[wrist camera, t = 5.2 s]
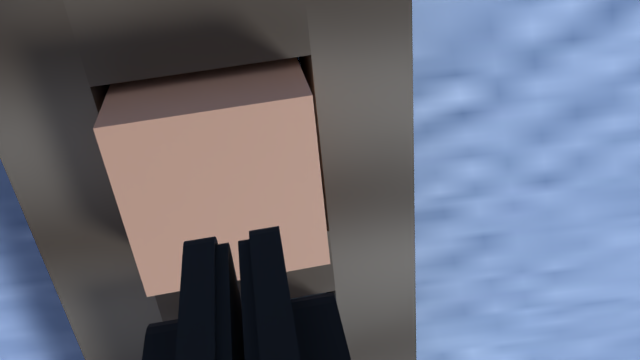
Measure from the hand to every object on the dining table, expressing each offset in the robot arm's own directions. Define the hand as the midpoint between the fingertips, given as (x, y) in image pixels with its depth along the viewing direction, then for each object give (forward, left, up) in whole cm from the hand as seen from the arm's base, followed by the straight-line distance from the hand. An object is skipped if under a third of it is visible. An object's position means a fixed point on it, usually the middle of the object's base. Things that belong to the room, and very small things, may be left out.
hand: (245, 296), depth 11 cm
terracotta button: (+1, 0, -9) cm, 9 cm away
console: (+9, 0, -9) cm, 13 cm away
